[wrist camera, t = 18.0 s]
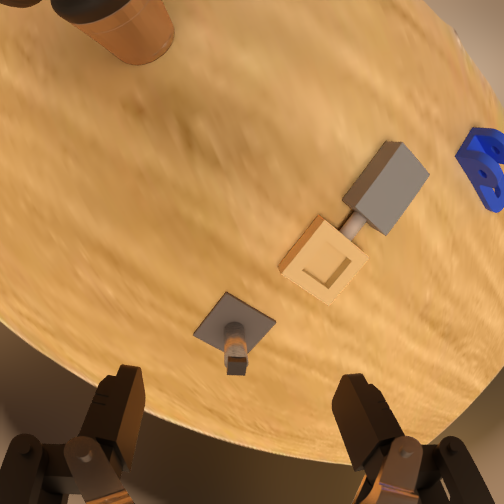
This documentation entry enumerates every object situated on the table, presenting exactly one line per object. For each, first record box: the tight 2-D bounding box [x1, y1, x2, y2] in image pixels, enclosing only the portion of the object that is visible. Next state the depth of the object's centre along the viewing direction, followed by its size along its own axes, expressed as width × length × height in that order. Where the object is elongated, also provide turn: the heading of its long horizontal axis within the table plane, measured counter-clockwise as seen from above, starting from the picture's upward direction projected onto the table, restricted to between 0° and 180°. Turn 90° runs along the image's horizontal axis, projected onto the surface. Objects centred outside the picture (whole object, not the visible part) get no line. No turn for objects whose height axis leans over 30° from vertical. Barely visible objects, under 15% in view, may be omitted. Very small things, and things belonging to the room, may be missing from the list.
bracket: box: [455, 127, 504, 213], centre depth 38 cm, size 18×8×9 cm, turn 52°
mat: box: [193, 292, 276, 354], centre depth 48 cm, size 10×10×1 cm
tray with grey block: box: [278, 142, 430, 306], centre depth 41 cm, size 26×10×5 cm, turn 143°
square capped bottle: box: [224, 322, 248, 376], centre depth 43 cm, size 3×3×10 cm
